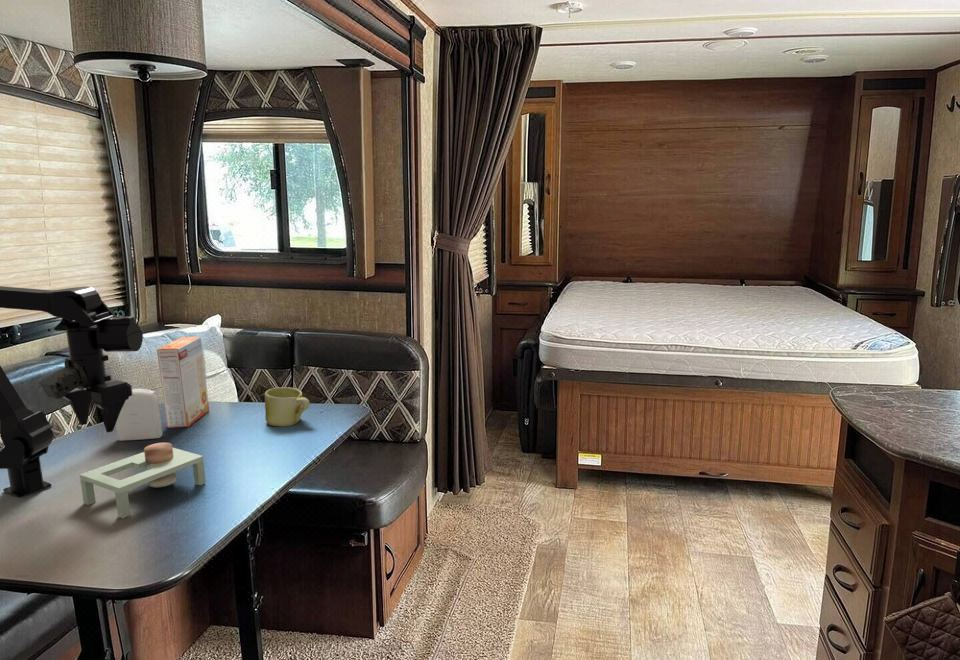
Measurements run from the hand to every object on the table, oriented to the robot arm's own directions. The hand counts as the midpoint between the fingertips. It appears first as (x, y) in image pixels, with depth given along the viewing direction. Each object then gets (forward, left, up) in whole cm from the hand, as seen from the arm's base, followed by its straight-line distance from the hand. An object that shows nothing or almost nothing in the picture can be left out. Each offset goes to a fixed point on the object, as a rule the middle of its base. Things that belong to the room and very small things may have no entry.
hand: (96, 428), depth 142 cm
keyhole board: (+9, +3, -13) cm, 16 cm away
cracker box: (-24, +37, -13) cm, 46 cm away
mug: (+2, +48, -13) cm, 50 cm away
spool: (+9, +7, -12) cm, 17 cm away
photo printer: (-22, +22, -13) cm, 34 cm away
